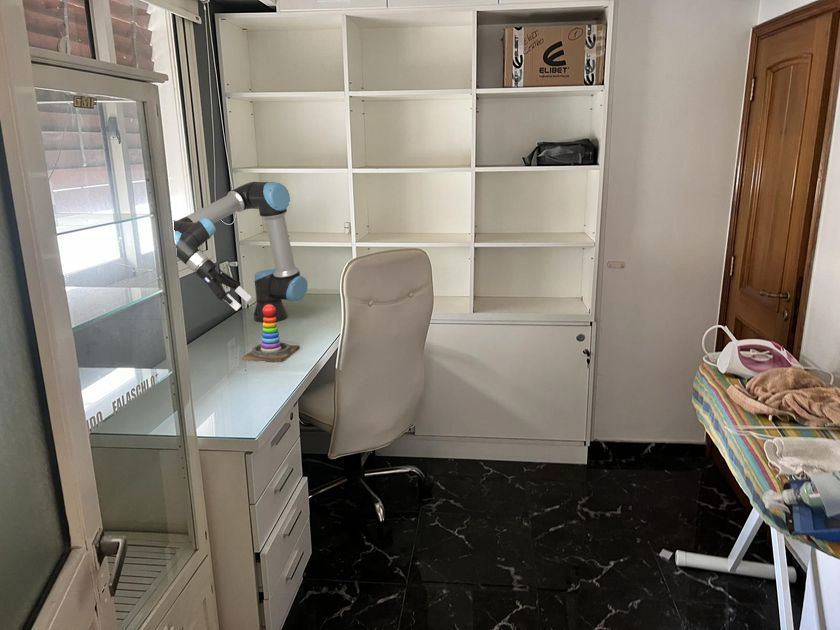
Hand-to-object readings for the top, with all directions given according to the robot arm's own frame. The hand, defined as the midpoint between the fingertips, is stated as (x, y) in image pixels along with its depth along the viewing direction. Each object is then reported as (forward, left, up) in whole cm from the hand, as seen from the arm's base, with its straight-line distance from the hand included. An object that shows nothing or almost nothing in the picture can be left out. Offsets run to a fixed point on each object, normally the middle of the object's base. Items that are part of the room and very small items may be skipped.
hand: (244, 303), depth 246 cm
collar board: (-2, +9, -20) cm, 22 cm away
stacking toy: (-2, +9, -19) cm, 21 cm away
